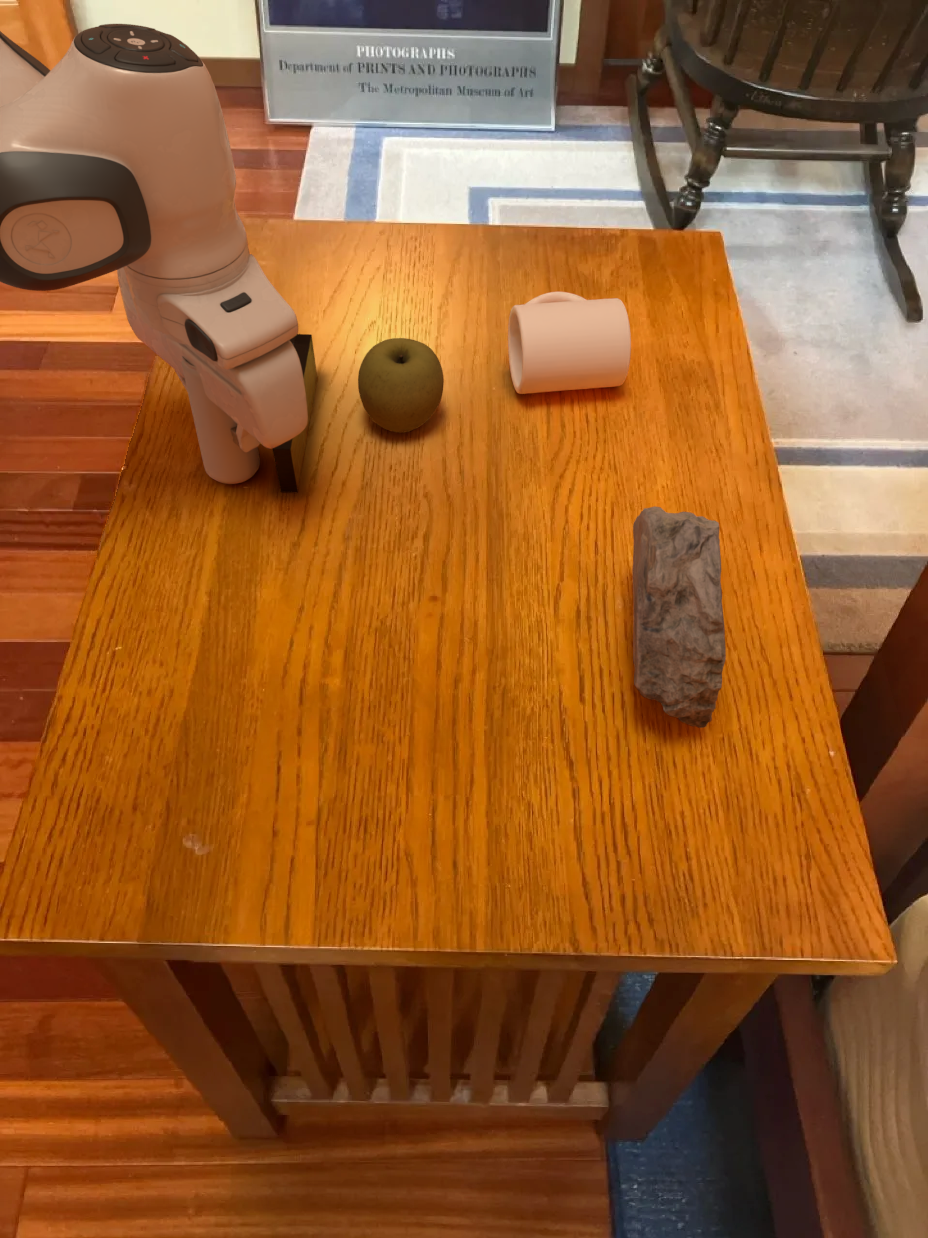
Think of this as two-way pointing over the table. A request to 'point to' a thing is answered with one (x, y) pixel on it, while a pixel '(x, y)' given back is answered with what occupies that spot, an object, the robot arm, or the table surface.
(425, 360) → the apple
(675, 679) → the decorative rock
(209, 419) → the beverage can
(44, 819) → the table surface
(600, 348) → the mug
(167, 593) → the table surface
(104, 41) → the robot arm
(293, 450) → the bracket
